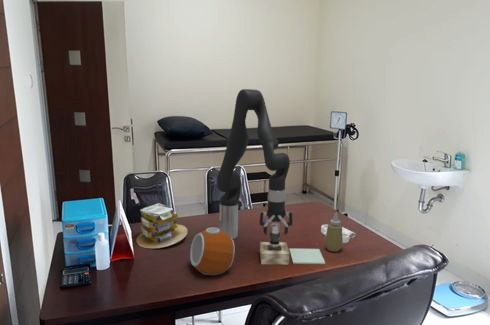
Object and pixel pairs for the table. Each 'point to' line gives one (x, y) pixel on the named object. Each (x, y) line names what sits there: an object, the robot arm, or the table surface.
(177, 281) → the table surface
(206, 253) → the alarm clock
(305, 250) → the sage mat
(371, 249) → the table surface
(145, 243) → the package stack on board
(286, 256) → the eye block
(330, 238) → the squeeze bottle
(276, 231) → the steel peg
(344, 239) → the white brass knuckles
